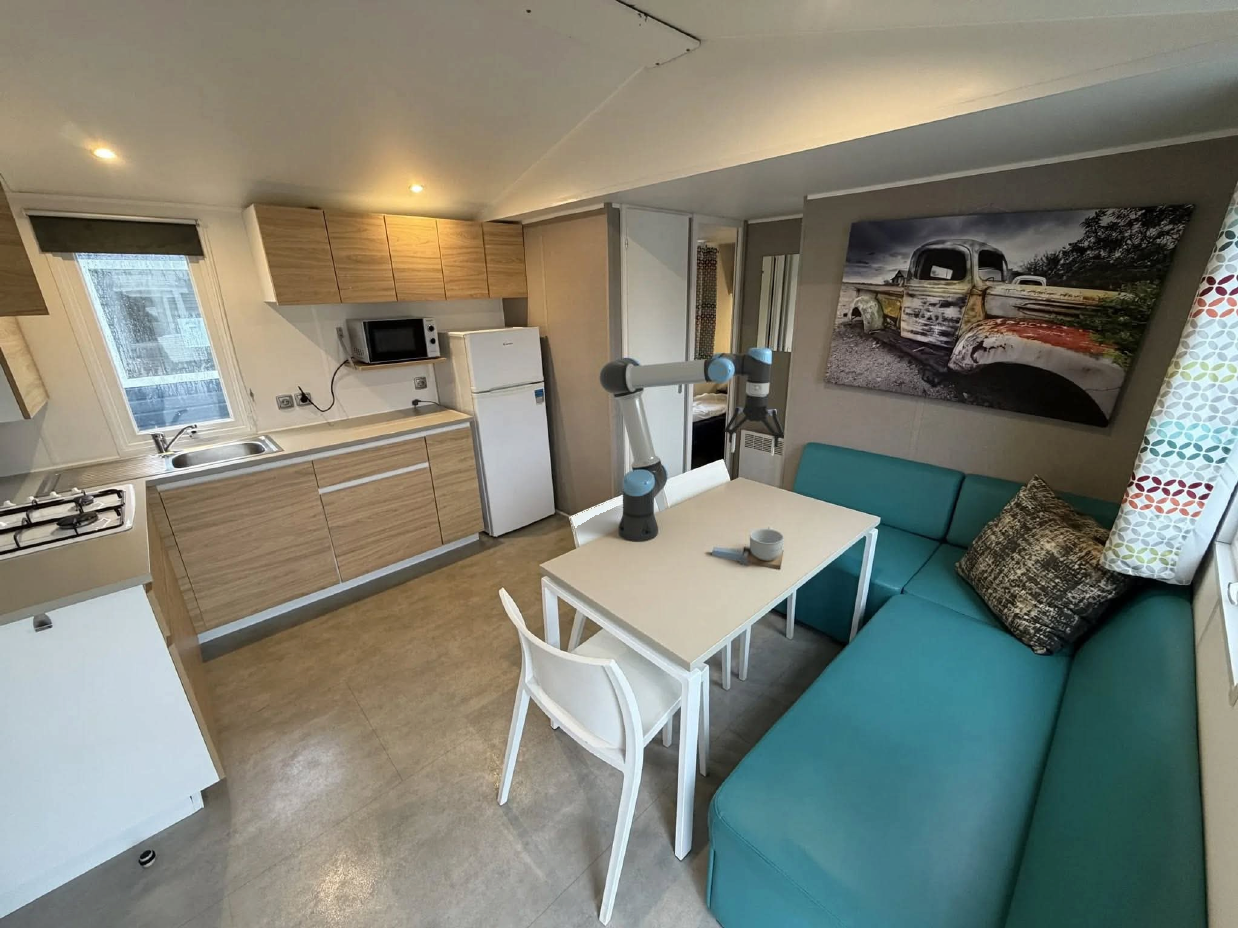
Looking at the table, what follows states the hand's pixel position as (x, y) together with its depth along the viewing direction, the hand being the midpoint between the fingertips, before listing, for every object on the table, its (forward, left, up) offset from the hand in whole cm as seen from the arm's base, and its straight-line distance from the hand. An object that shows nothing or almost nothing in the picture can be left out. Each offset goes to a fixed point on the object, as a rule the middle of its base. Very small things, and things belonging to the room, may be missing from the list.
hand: (752, 453), depth 172 cm
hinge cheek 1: (+3, -17, -32) cm, 36 cm away
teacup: (+9, -16, -30) cm, 36 cm away
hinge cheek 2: (+3, -23, -32) cm, 39 cm away
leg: (-2, -20, -32) cm, 38 cm away
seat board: (+9, -16, -32) cm, 37 cm away
